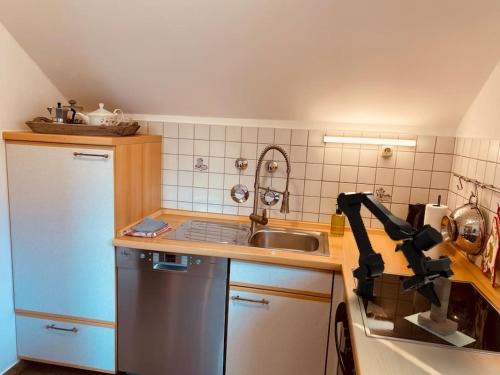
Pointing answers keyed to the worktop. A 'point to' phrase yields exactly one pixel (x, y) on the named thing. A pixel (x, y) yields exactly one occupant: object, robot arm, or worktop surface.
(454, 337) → the board
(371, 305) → the shard
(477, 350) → the worktop surface
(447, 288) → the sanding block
